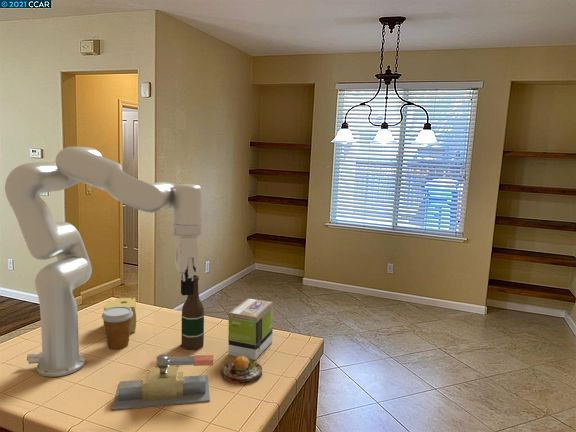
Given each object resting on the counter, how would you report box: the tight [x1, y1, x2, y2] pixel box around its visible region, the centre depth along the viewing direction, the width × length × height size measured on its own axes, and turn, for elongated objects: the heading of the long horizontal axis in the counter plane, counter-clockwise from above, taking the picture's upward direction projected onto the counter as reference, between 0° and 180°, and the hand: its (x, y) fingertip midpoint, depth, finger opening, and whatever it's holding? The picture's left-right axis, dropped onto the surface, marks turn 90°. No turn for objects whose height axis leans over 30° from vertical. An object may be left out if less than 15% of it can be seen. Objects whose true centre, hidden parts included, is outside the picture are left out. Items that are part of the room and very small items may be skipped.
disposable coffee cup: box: [101, 306, 133, 351], centre depth 141 cm, size 10×10×12 cm
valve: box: [117, 365, 206, 401], centre depth 114 cm, size 22×6×8 cm, turn 103°
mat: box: [111, 374, 211, 411], centre depth 116 cm, size 24×13×1 cm, turn 103°
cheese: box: [102, 297, 137, 336], centre depth 155 cm, size 10×11×10 cm
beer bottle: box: [181, 274, 205, 351], centre depth 143 cm, size 8×8×24 cm
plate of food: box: [221, 356, 263, 385], centre depth 127 cm, size 12×12×8 cm
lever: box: [156, 353, 215, 369], centre depth 114 cm, size 15×3×2 cm, turn 97°
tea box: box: [227, 297, 274, 361], centre depth 143 cm, size 15×10×15 cm, turn 161°
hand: (187, 294), depth 120 cm, fingers closed
